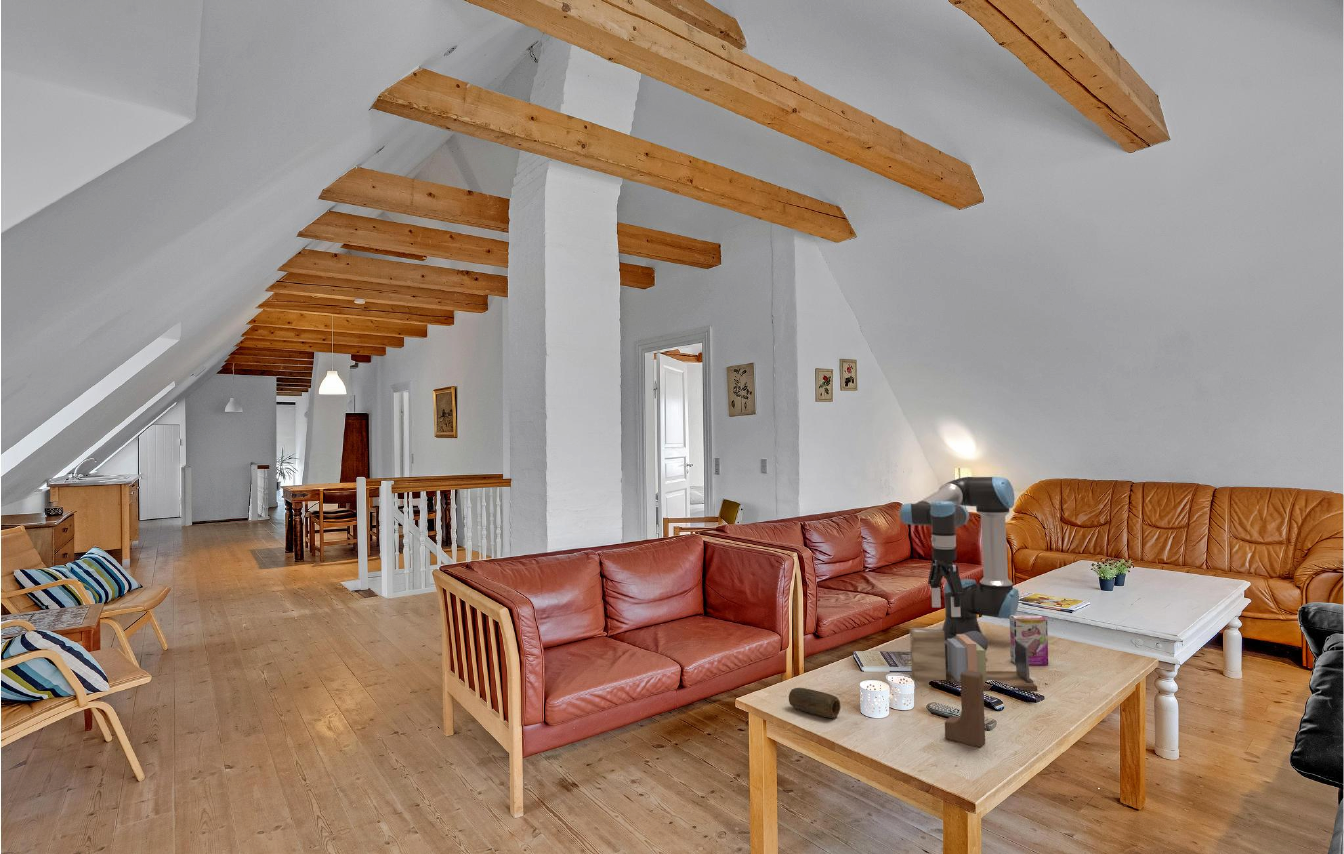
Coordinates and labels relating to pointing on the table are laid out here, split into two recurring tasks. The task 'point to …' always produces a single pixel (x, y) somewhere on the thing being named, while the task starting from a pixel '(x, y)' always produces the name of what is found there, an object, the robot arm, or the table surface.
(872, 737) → the table surface
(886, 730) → the table surface
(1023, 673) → the bookend
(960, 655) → the book row
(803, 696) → the portable cylindrical speaker
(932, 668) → the tan rectangular block
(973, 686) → the wooden block
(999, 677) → the shelf
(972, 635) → the bluetooth speaker
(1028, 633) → the candy bar box
